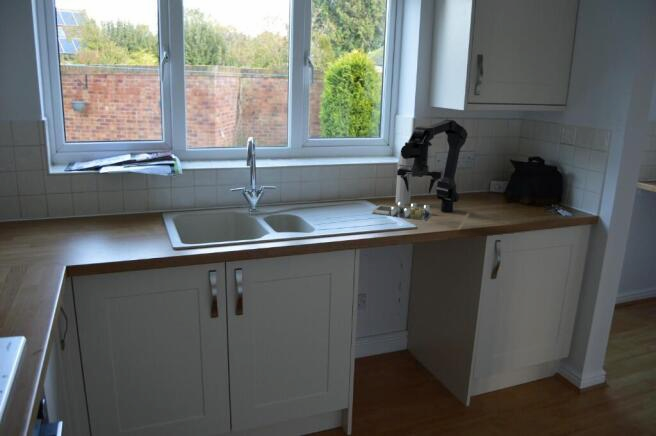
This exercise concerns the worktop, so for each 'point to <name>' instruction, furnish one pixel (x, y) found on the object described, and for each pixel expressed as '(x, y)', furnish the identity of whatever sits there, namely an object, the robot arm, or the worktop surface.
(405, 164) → the water bottle
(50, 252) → the worktop surface
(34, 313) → the worktop surface
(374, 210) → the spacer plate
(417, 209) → the hex nut
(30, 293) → the worktop surface
